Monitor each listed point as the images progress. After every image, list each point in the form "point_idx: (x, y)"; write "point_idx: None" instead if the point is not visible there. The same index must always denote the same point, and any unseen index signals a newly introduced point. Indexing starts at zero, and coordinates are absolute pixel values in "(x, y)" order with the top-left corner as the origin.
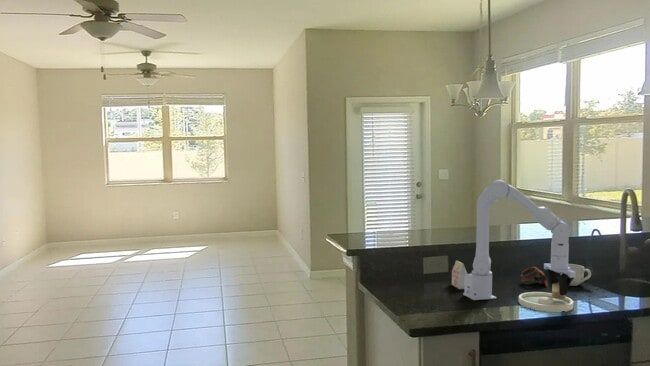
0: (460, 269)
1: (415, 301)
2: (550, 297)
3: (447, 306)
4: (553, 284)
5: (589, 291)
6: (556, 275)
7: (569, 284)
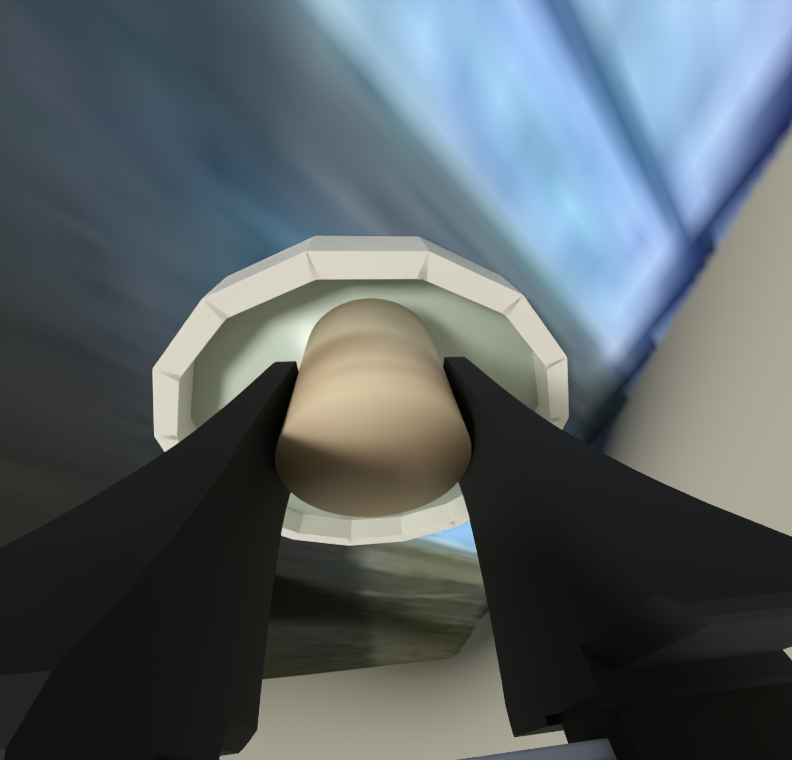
0: None
1: (274, 658)
2: (242, 335)
3: (330, 633)
4: (356, 511)
5: None
6: (209, 606)
7: (572, 446)
